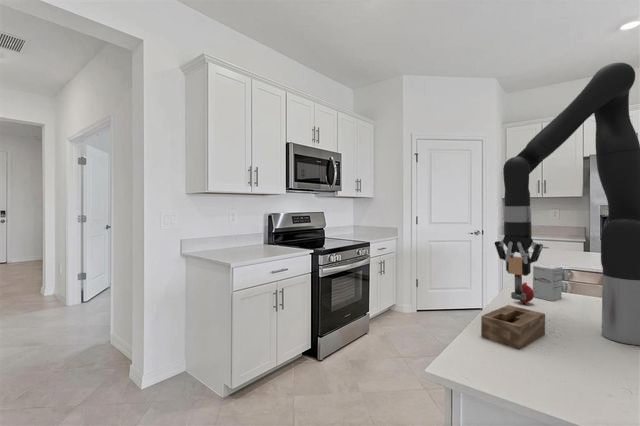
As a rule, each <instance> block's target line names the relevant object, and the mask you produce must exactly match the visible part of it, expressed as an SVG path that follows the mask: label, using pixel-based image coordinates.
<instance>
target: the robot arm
mask: <svg viewBox="0 0 640 426" xmlns="http://www.w3.org/2000/svg"><path fill="white" fill-rule="evenodd" d="M635 81H636V71H635V69H634V68H633V66H632V65H630V64H629V63H626V62H613V63H609V64H607V65H605V66H603V67H602V68H600V69H599V70H598V71H596V73H595V74H594V75H593V76H592V78H591V79H590V81H589V82H588V83H587V84H586V85H585V87H584V88H583V89H582V90H581V92H580V93H578V95H577V96H576V97H575V98H574V99H573V100H572V102H570V103H569V104H568V105H567V107H565V108H564V109H563V110H562V111H561V112H560V113H559V114H558V115H557V116H555V117H554V119H552V120H551V121H550V122H549V123H548V124H546V125H545V127H544V128H543V129H541V130H540V131H539V132H538V133H537V134H536V135H535V136H534V137H532V139H530V141H528V143H527V144H526V146H525V148H523V149H522V150H521V151H520V152H519V153H518V154H517V155H516V156H514V157H513V156H512V157H510V158H508V159H507V161H506V162H505V163H504V164H503V169H502V170H503V173H502V174H503V184H504V199H503V200H504V210H503V218H502V219H503V235H504V236H503V239H502V240H496V241H495V242H494V247H495V249H496V252H497V255H498V258H499V259H500V260H503V261H505V270H506V272H507V273H508V274H510V273H509V265H508V258H510V257H514V256H515V254H516V253H518V254H519V255H520V257H522V258H523V262H524V264H523V275H522V276H526V277H527V276H529V275H530V274H531V264H532V263H536V262H538V260H539V257H540V254H541V252H542V250H543V248H544V245H543V243H537V242H535V241H534V240H533V237H532V233H533V231H532V210H531V192H530V174H531V173H532V172H533V171H534V170H535V169H536V168H537V167H538V166H539V165H540V164H541V163H542V162H543V161H544V160H545V159H547V158H548V157H549V156H551V155H552V154H554V152H555V151H556V150H558V149H559V148H560V147H561V146H562V145H563V144H564V143H565V142H566V141H567V140H568V139H569V138H570V137H571V136H572V135H574V134H575V132H576V131H577V130H578V129H579V128H580V127H581V126H582V125H583V123H584V122H586V121H587V120H588V119H589V118H590V117H591V116H593V115H594V120H595V157H596V159H595V161H596V168H597V174H598V177H599V181H600V183H601V187H602V189H603V192H604V195H605V197H606V201H607V208H608V209H607V211H608V219H607V220H608V223H606V224H605V226H603V228H602V230H601V233H600V263H601V268H602V284H601V285H602V286H601V287H602V289H601V290H602V294H601V295H602V296H601V300H602V301H601V325H600V326H601V335H602V337H604V338H606V339H608V340H612V341H614V342H617V343H622V344H626V345H627V344H628V345H634V346H640V141H639V138H638V135H637V133H636V130H635V128H634V126H633V122H632V121H631V117H630V105H629V104H630V102H629V101H630V91H631V89H632V87H633V86H634V83H635ZM504 246H505V247H506V248H507V249H506V251H505V248H504ZM531 246H532V250H533V252H532V254H531V253H530V250H529V249H530V248H531ZM530 254H531V256H530Z"/></svg>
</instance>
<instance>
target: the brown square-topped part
mask: <svg viewBox="0 0 640 426" xmlns="http://www.w3.org/2000/svg"><path fill="white" fill-rule="evenodd" d="M523 264H524V262H523V258H522V257H521V256H515V255H514V256H513V257H510V258H508V265H509V273H510V274H511V275H514V291H513V292H511V293H510V298H511V299H513V300H517V301H520V300H526V294H525V293H522V284H523V276H524V275H523ZM509 273H508V274H509Z"/></svg>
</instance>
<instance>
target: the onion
mask: <svg viewBox="0 0 640 426" xmlns="http://www.w3.org/2000/svg"><path fill="white" fill-rule="evenodd" d="M522 293H525V294H526V300H519V302H521V303H522V304H524V305H525V304H528V303H529V302H531V301H532V300H533V299H534V298H535V297H534V292H533V288H531V287H530V286H529V285H528V283H527V282H525V281H522Z"/></svg>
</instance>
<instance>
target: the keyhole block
mask: <svg viewBox="0 0 640 426" xmlns="http://www.w3.org/2000/svg"><path fill="white" fill-rule="evenodd" d="M480 319H481V320H480V321H481V325H480V328H481V329H480V331H481V332H480V333H481V335H480V336H481V337H480V338H483V339H487V340H490V341H492V342H495V343H498V344H502V345H503V346H508V347H509V348H513V349H516V350H521V349H523V348H525V347H527V346H528V345H530V344H532V343H533V342H535V341H536V340H538V339H540V338H542V337H543V336H545V335H546V313H544V312H538V311H535V310H532V309H527V308H522V307H519V306H514V305H511V304H510V305H509V304H508V305H504V306H503V307H500V308H498V309H495V310H492V311H490V312H488V313H485V314H483V315H481V318H480Z"/></svg>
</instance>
